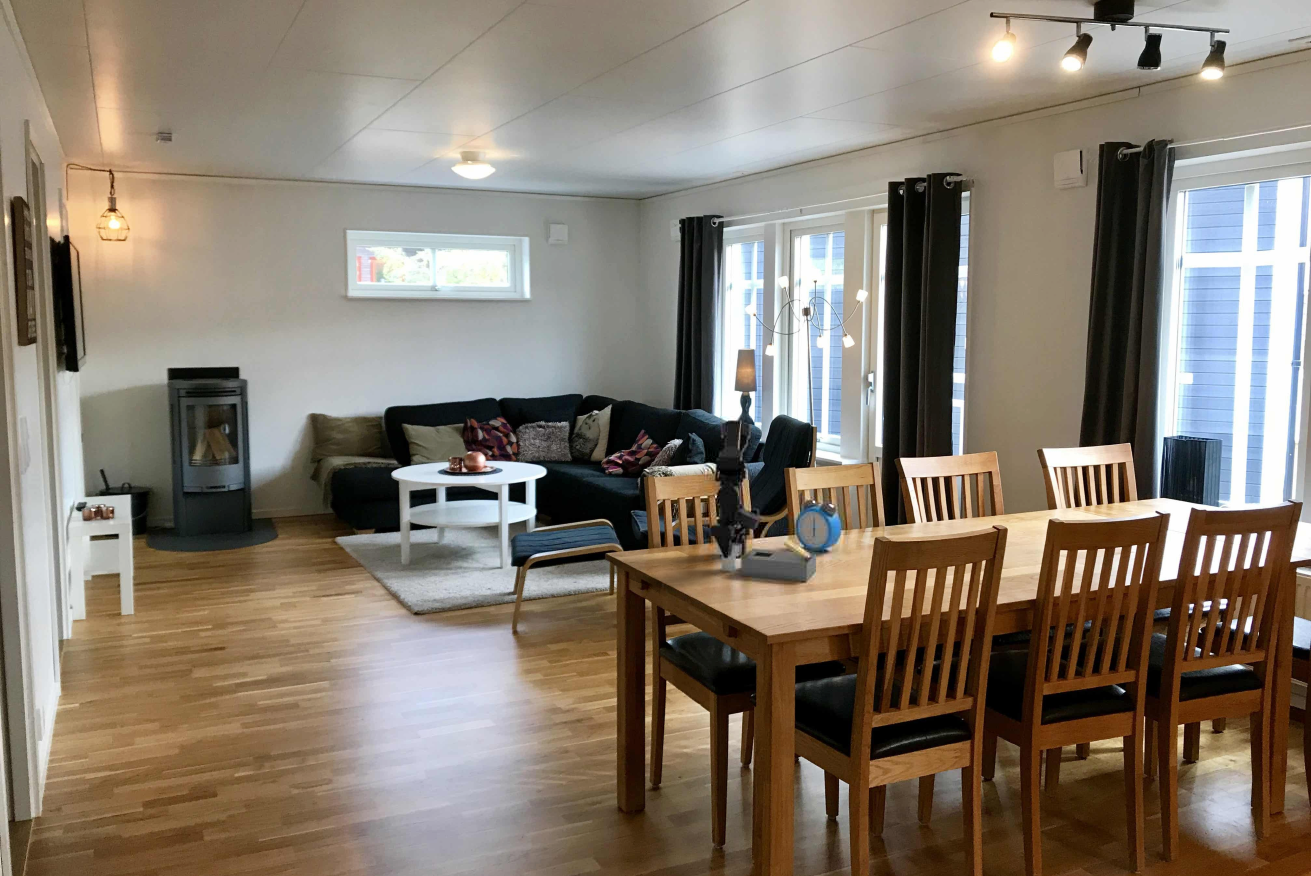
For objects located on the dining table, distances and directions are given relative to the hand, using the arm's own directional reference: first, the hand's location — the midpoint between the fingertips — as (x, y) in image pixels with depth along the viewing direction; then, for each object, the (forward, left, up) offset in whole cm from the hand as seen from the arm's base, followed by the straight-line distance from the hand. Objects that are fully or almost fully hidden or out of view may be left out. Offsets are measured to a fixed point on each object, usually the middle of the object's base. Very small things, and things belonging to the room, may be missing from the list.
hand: (728, 555), depth 287 cm
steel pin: (0, 0, -4) cm, 4 cm away
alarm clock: (+18, +34, -4) cm, 39 cm away
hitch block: (+14, +1, -4) cm, 15 cm away
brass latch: (+19, +1, +3) cm, 19 cm away
